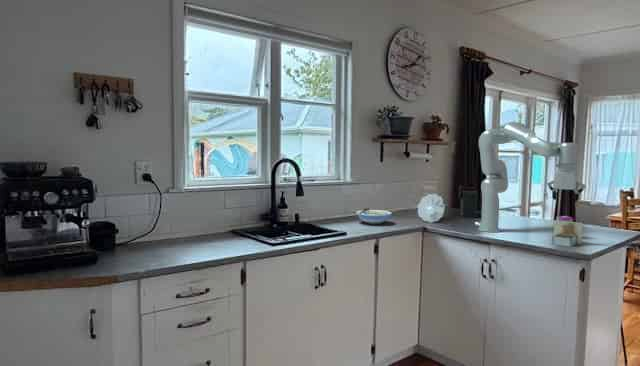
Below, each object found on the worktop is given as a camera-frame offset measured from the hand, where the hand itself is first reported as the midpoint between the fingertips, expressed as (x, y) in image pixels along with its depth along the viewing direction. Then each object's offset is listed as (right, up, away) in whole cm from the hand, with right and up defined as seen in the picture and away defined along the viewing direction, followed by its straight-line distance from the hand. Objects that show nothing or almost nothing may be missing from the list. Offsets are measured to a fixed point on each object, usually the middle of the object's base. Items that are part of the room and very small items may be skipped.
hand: (565, 200), depth 216 cm
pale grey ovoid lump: (-50, -17, +71) cm, 89 cm away
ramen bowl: (-91, -17, +57) cm, 109 cm away
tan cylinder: (0, -21, +1) cm, 21 cm away
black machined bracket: (-18, -16, +92) cm, 95 cm away
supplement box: (+10, -21, +18) cm, 30 cm away
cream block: (+1, -22, +2) cm, 22 cm away
